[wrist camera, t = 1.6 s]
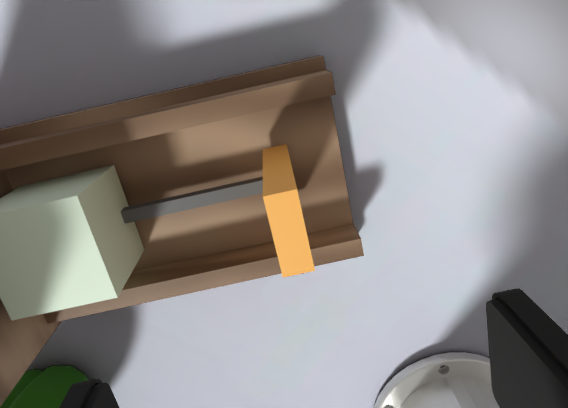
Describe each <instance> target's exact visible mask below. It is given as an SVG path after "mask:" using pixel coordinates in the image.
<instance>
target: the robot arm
mask: <svg viewBox="0 0 568 408" xmlns="http://www.w3.org/2000/svg"><path fill="white" fill-rule="evenodd" d="M486 312H487V327H488V341H489V356H490V358H487V357H484V356H482V355H479V354H472V353H466V352H450V353H444V354H438V355H433V356H430V357H427V358H424V359H421V360H419V361H417V362H415V363H413V364H411V365H409V366H407V367H406V368H405V369H403V370H402V371H400V372H399V373H398V374H396V375H395V376H394V377H393V378H392V379H391V380H390V381H389V382H388V383H387V384H386V385H385V387H384V388H383V390H382V391H381V393H380V394H379V396H378V398H377V401H376V403H375V405H374V408H568V335H567V334H566V333H565V332H564V331H563V330H562V329H561V328H560V327H559V326H558V325H557V324H556V323H555V322H554V321H553V320H552V319H551V318H550V317H549V316H548V315H547V314H546V313H545V312H544V311H543V310H542V309H541V308H539V307H538V306H537V305H536V304H535V303H534V302H533V301H532V300H531V299H530V298H529V297H528V296H527V295H526V294H525V293H524V292H523V291H522V290H520V289H512V290H507V291H502V292H498V293H494V294H493V296H492V300H490V301H487V303H486ZM59 408H119V406H118V404H117V401H116V399H115V397H114V395H113V392H112V390H111V388H110V386H109V384H107V383H102V381H101V380H100V379H91V380H87V381H82V382H77V383H74V384H72V386H71V387H70V388H69V390H68V392H67V394H66V396H65V398H64V400H63V401H62V403H61V405H60V407H59Z"/></svg>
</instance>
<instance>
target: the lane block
mask: <svg viewBox="0 0 568 408" xmlns="http://www.w3.org/2000/svg"><path fill="white" fill-rule="evenodd" d="M261 193H263V200H264V204H265V208H266V212H267V216H268V220H269V224H270V228H271V232H272V236H273V240H274V244H275V248H276V252H277V256H278V260H279V264H280V268H281V272H282V276H283V277H287V276H292V275H297V274H301V273H306V272H311V271H315V268H314V264H313V259H312V255H311V250H310V246H309V241H308V236H307V232H306V227H305V223H304V218H303V214H302V209H301V204H300V200H299V195H298V191H297V186H296V182H295V178H294V174H293V169H292V165H291V161H290V157H289V152H288V148H287V144H284V145H280V146H275V147H271V148H266V149H263V177H258V178H254V179H249V180H245V181H240V182H236V183H231V184H227V185H222V186H218V187H213V188H209V189H204V190H200V191H195V192H191V193H186V194H182V195H177V196H173V197H168V198H164V199H159V200H155V201H150V202H146V203H141V204H137V205H132V206H129V205H128V202H127V200H126V197H125V194H124V191H123V189H122V186H121V183H120V180H119V177H118V175H117V172H116V169H115V166H114V165H110V166H106V167H102V168H97V169H93V170H88V171H84V172H79V173H75V174H71V175H66V176H62V177H57V178H53V179H48V180H44V181H40V182H35V183H31V184H26V185H22V186H20V187H18V188H17V189H15V190H13V191H12V192H10V193H8V194H7V195H5V196H3V197H2V198H0V298H1V300H2V302H3V304H4V306H5V308H6V310H7V312H8V314H9V316H10V318H11V320H17V319H21V318H26V317H31V316H35V315H40V314H44V313H49V312H54V311H58V310H63V309H68V308H72V307H77V306H81V305H86V304H91V303H95V302H100V301H104V300H109V299H114V298H118V296H119V294H120V292H121V291H122V289H123V287H124V285H125V284H126V282H127V280H128V278H129V276H130V275H131V273H132V271H133V269H134V268H135V266H136V264H137V262H138V260H139V259H140V257H141V255H142V253H143V252H144V247H143V244H142V241H141V239H140V236H139V233H138V230H137V228H136V225H135V221H139V220H144V219H148V218H153V217H157V216H162V215H166V214H171V213H176V212H180V211H185V210H189V209H194V208H198V207H203V206H207V205H212V204H216V203H221V202H225V201H230V200H234V199H239V198H243V197H248V196H252V195H257V194H261Z"/></svg>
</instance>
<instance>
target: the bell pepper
mask: <svg viewBox="0 0 568 408" xmlns="http://www.w3.org/2000/svg"><path fill="white" fill-rule="evenodd" d="M87 380H89V379H88V378H87V377H86V375H85V374H84V373H83V372H81V371H80V370H78V369H76V368H74V367H73V366H50V367H47V368H46V369H45V370H44V371H42V370H38V369H33V370H29V371H26V372H25V373H24V374H23V376H22V377H21V379H20V380H19V381H18V383H17V384H16V386H15V387H14V388H13V390H12V391H11V393H10V394H9V395H8V397H7V398H6V400H5V401H4V402H3V404H2V405H1V406H0V408H59V407H60V405H61V403H62V401H63V400H64V398H65V396H66V394H67V392H68V390H69V388H70V387H71V386H72V384H74V383H77V382H82V381H87Z"/></svg>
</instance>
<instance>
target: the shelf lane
mask: <svg viewBox="0 0 568 408" xmlns="http://www.w3.org/2000/svg"><path fill="white" fill-rule="evenodd" d="M331 95H335V88H334V82H333V76H332V72H330V71H327V70H326V68H325V63H324V57H323V56H321V55H320V56H315V57H311V58H307V59H302V60H298V61H293V62H289V63H285V64H280V65H276V66H272V67H267V68H263V69H259V70H254V71H250V72H246V73H241V74H237V75H233V76H228V77H224V78H220V79H215V80H211V81H207V82H202V83H198V84H194V85H189V86H185V87H181V88H176V89H172V90H167V91H163V92H159V93H154V94H150V95H146V96H141V97H137V98H133V99H128V100H124V101H120V102H115V103H111V104H107V105H102V106H98V107H94V108H89V109H85V110H81V111H76V112H72V113H68V114H63V115H59V116H55V117H50V118H46V119H41V120H37V121H33V122H28V123H24V124H20V125H15V126H11V127H7V128H2V129H0V198H2V197H3V196H5V195H7V194H8V193H10V192H12V191H13V190H15V189H17V188H18V187H20V186H22V185H26V184H31V183H35V182H40V181H44V180H48V179H53V178H57V177H62V176H66V175H71V174H75V173H79V172H84V171H88V170H93V169H97V168H102V167H106V166H110V165H114V166H115V169H116V172H117V175H118V177H119V180H120V183H121V186H122V189H123V191H124V194H125V197H126V200H127V202H128V205H129V206H132V205H137V204H141V203H146V202H150V201H155V200H159V199H164V198H168V197H173V196H177V195H182V194H186V193H191V192H195V191H200V190H204V189H209V188H213V187H218V186H222V185H227V184H231V183H236V182H240V181H245V180H249V179H254V178H258V177H263V149H266V148H271V147H275V146H280V145H284V144H287V148H288V152H289V157H290V161H291V165H292V169H293V174H294V178H295V182H296V186H297V191H298V195H299V200H300V204H301V209H302V214H303V218H304V223H305V227H306V232H307V236H308V241H309V246H310V250H311V255H312V259H313V264H314V266H318V265H322V264H327V263H332V262H336V261H341V260H346V259H350V258H355V257H359V256H364V254H363V248H362V243H361V238H360V236H359V234H358V232H357V230H356V228H355V226H354V224H353V219H352V214H351V208H350V203H349V197H348V191H347V186H346V180H345V175H344V169H343V163H342V158H341V152H340V147H339V141H338V135H337V130H336V124H335V119H334V113H333V107H332V102H331ZM135 225H136V228H137V230H138V233H139V236H140V239H141V241H142V244H143V247H144V252H143V253H142V255H141V257H140V259H139V260H138V262H137V264H136V266H135V268H134V269H133V271H132V273H131V275H130V276H129V278H128V280H127V282H126V284H125V285H124V287H123V289H122V291H121V292H120V294H119V296H118V298H114V299H109V300H104V301H100V302H95V303H91V304H86V305H81V306H77V307H72V308H68V309H63V310H58V311H54V312H49V313H44V314H40V315H35V316H31V317H26V318H21V319H17V320H11V318H10V316H9V314H8V312H7V310H6V308H5V306H4V304H3V302H2V300H1V298H0V406H1V405H2V404H3V402H4V401H5V400H6V398H7V397H8V395H9V394H10V393H11V391H12V390H13V388H14V387H15V386H16V384H17V383H18V381H19V380H20V379H21V377H22V376H23V374H24V373H25V372H26V370H27V369H28V367H29V366H30V365H31V363H32V362H33V360H34V359H35V358H36V356H37V355H38V353H39V352H40V351H41V349H42V348H43V346H44V345H45V344H46V342H47V341H48V339H49V338H50V337H51V335H52V334H53V332H54V331H55V330H56V328H57V327H58V325H59V324H60V323H61V321H63V320H68V319H72V318H77V317H81V316H86V315H91V314H95V313H100V312H105V311H109V310H114V309H118V308H123V307H128V306H132V305H137V304H142V303H146V302H151V301H156V300H160V299H165V298H169V297H174V296H179V295H183V294H188V293H193V292H197V291H202V290H207V289H211V288H216V287H220V286H225V285H230V284H234V283H239V282H244V281H248V280H253V279H257V278H262V277H267V276H271V275H276V274H281V273H282V272H281V268H280V264H279V260H278V256H277V252H276V248H275V244H274V240H273V236H272V232H271V228H270V224H269V220H268V216H267V212H266V208H265V204H264V200H263V193H261V194H257V195H252V196H248V197H243V198H239V199H234V200H230V201H225V202H221V203H216V204H212V205H207V206H203V207H198V208H194V209H189V210H185V211H180V212H176V213H171V214H166V215H162V216H157V217H153V218H148V219H144V220H139V221H135Z"/></svg>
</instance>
